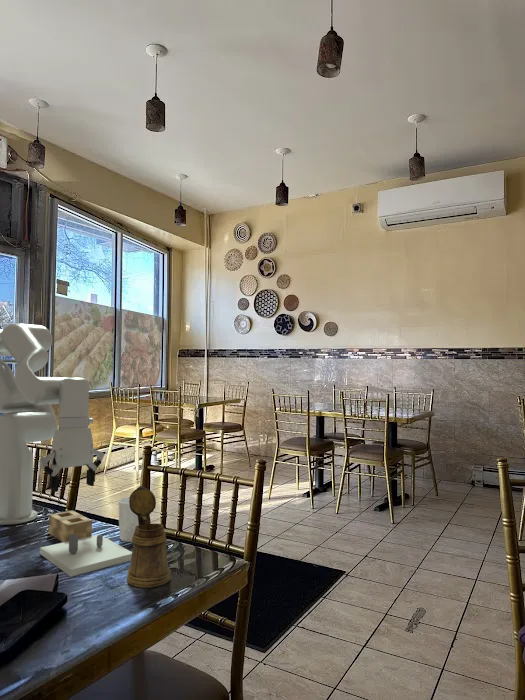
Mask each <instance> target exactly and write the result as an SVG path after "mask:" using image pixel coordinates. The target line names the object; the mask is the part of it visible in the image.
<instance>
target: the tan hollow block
mask: <svg viewBox="0 0 525 700" xmlns="http://www.w3.org/2000/svg"><path fill="white" fill-rule="evenodd" d="M48 518H49V519H48V534H49V535H51V536H53V537H54V538H56V539H57V540H59V541H60V542H61V543H63V542H68V541H69V537H70V536H71V535H72V534H76V535H77V536H78V539H81V538H86V537H90V536H93V520H92V519H90V518H88V517H86V516H84V515H83V514H80V513H78V512H76V511H75V510H67V511H61V512H55V513H51V514H49V515H48Z"/></svg>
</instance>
